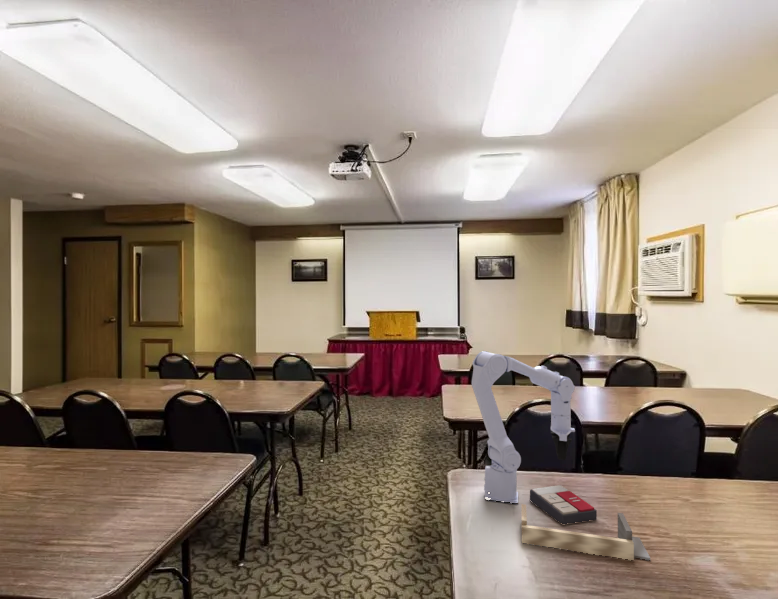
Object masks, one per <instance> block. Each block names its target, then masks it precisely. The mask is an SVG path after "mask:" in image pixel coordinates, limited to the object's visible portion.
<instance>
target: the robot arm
mask: <svg viewBox="0 0 778 599" xmlns="http://www.w3.org/2000/svg"><path fill="white" fill-rule="evenodd" d="M472 367H473V369H472V370H473V371H472V377H471V387H472V391H473V393H474V397H475V399H476V402H477V405H478V408H479V411H480V414H481V417H482V421H483V423H484V427H485V429H486V433H487V436H488V439H487V441H486V442H487V448H488V450H487V454H488V457H489V458H490V459H491V465H485V468H484V485H483V486H484V487H483V490H484V498H485V497H488V498H491V499H490V500H496V501H504V502H510V503H509V504H512V503H518V504H519V491H518V490H517V472H518V469H519V467H520V465H521V463H522V457H521V455H520V453H519V451H517V450H516V448H515V446H514V443H513V442H512V440H510V438H509V437H508V435H507V431H506V429H505V425H504V423H503V422H504V421H503V420H502V416H501V414H500V413H501V412H500V410H499V408H498V404H497V401H496V398H495V396H494V392H493V390H492V389H493V388H492V387H493V385H494V383H495V382H496V381H497V380H498V379H500V377H502V376H503V375H504V374H505V372H507V373H509V372H510V371H513V372H516V373H518V374H520V375H524V376H526V377H528V378H529V380H530V382H531V383H532V384H534V385H536V386H538V387H541V388H544V389H546V390H548V392H550V418H551V419H550V421H551V422H550V434H551V438H552V441H553V443H554V445H555V446H554V447H555V451H556V452H555V453H556V456H557V459H558V460H560V461H561V460H562V461H566V459H567V454H568V450H569V447H570V444H571V443H572V440H573V439H572V437H570V436H571V433H575V432H576V430H575V428H574V427H571V426H572V425H571V421H572V418H571V415H572V414H571V411H572V410H571V401H572V398H573V397H572V395H573V393H574V392H575V388H576V385H574V382H573V381H572V379H571V378H570V377H568V376H565V375H564V376H563V375H561V374H560V372H558V371H552V370H550V369H548V367H547V366H545V365H541V366H540V365H536V366H535V367H534V366H531V365H528V364H526V363H524V362H522V361H520V360H517V359H516V358H513V357H511V356H508V355H507V356H506V355H502V354H500V353H493V352H489V351H485V350H483V351H480V352H478V354H477V355H476V356H475V358H474V359H473V360H472ZM488 492H490V494H488ZM496 501H495V502H496ZM504 502H503V503H504Z"/></svg>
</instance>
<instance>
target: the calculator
mask: <svg viewBox="0 0 778 599" xmlns="http://www.w3.org/2000/svg"><path fill="white" fill-rule="evenodd" d="M530 500H531V501H532V502H533V503H535V504H536V505H537V506H539V507H538V508H540V509H541V510H542V511H543V510H544V511H545V512H544V511H543V512H544V513H546V512H547V513H548V514H549V515H550V516H549V515H548V514H547V513H546V514H547V515H548V516H549V517H551V516H552V517H553V518H552V517H551V518H552V519H554V518H555V519H556V520H557V521H556V520H555V519H554V520H555V521H556V522H558V521H559V522H560V523H562V524H567V523H575V522H581V523H583V522H582V521H587V522H590V521H589V520H593V521H596V520H597V516H598V514H597V512H598V511H597V509H595V507H594V506H593V505H591V504H590V503H588V502H587V501H586V500H584V499H583V498H581V497H579V496H578V495H576V494H575V493H574V492H572V491H570V490H568V489H567V488H565V487H564V486H562V485H561V484H560V485H559V484H558V485H551V486H544V487H537V488H532V489H529V501H530ZM531 501H530V502H531ZM532 502H531V503H532ZM533 503H532V504H533ZM535 504H534V505H535ZM536 505H535V506H536ZM537 506H536V507H537ZM559 522H558V523H559ZM560 523H559V524H560ZM562 524H561V525H562ZM575 524H576V523H575Z"/></svg>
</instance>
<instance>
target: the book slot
mask: <svg viewBox="0 0 778 599" xmlns="http://www.w3.org/2000/svg"><path fill="white" fill-rule="evenodd" d="M520 506H521V513H520V514H521V544H523V543H527V544H526V545H529V544H532V545H531V546H535V545H540V546H539V547H542V546H547V547H546V548H548V547H554V548H561V549H568V550H573V551H572V552H574V551H577V552H576V553H580V552H583V553H582V554H586V553H588V555H593V554H595V555H594V556H599V555H602V556H601V557H605V556H611V557H610V558H612V557H617V558H616V559H618V558H622V559H621V560H625V559H628V560H627V561H631V560H634V561H635V559H636V558H640V559H639V560H642V559H645V561H649V560H650V561H651V556H650V554H649V553H648V550H647V548H646V547H645V545H644V544H643V542H642V540H641V537H638V536H633V530H632V529H631V527H630V525H629V523H628V522H629V521H628V520H627V518H626V517H625V515H624V513H623V512H617V537H612V536H604V535H599V534H592V533H591V534H590V533H584V532H577V531H570V530H563V529H558V528H557V529H556V528H548V527H542V526H536V525H528V517H527V504H524V503H521V505H520ZM533 544H534V545H533ZM554 548H553V549H554ZM561 549H560V550H561Z"/></svg>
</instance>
